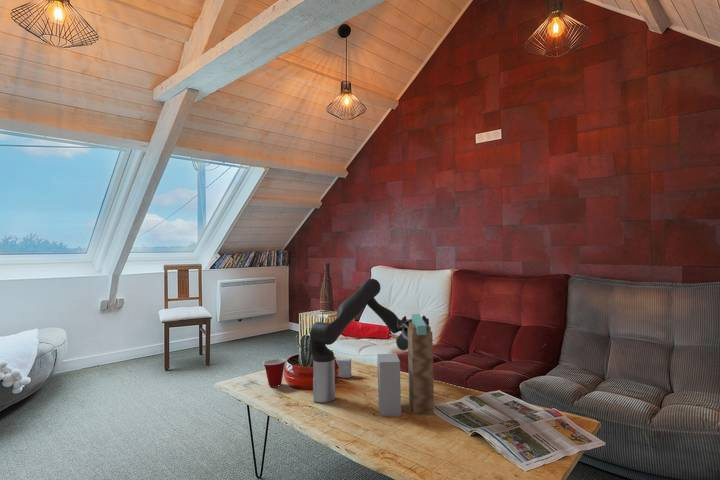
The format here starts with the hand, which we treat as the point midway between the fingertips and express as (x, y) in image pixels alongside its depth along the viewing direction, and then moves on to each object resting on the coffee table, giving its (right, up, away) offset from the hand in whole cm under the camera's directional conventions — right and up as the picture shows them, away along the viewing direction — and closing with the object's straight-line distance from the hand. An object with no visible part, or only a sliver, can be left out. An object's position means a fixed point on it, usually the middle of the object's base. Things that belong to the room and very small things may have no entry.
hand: (414, 317), depth 181 cm
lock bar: (+1, -3, -8) cm, 8 cm away
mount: (+1, -35, -11) cm, 37 cm away
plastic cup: (-65, -37, +20) cm, 77 cm away
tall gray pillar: (-12, -35, -12) cm, 39 cm away
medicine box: (-32, -36, +31) cm, 58 cm away
